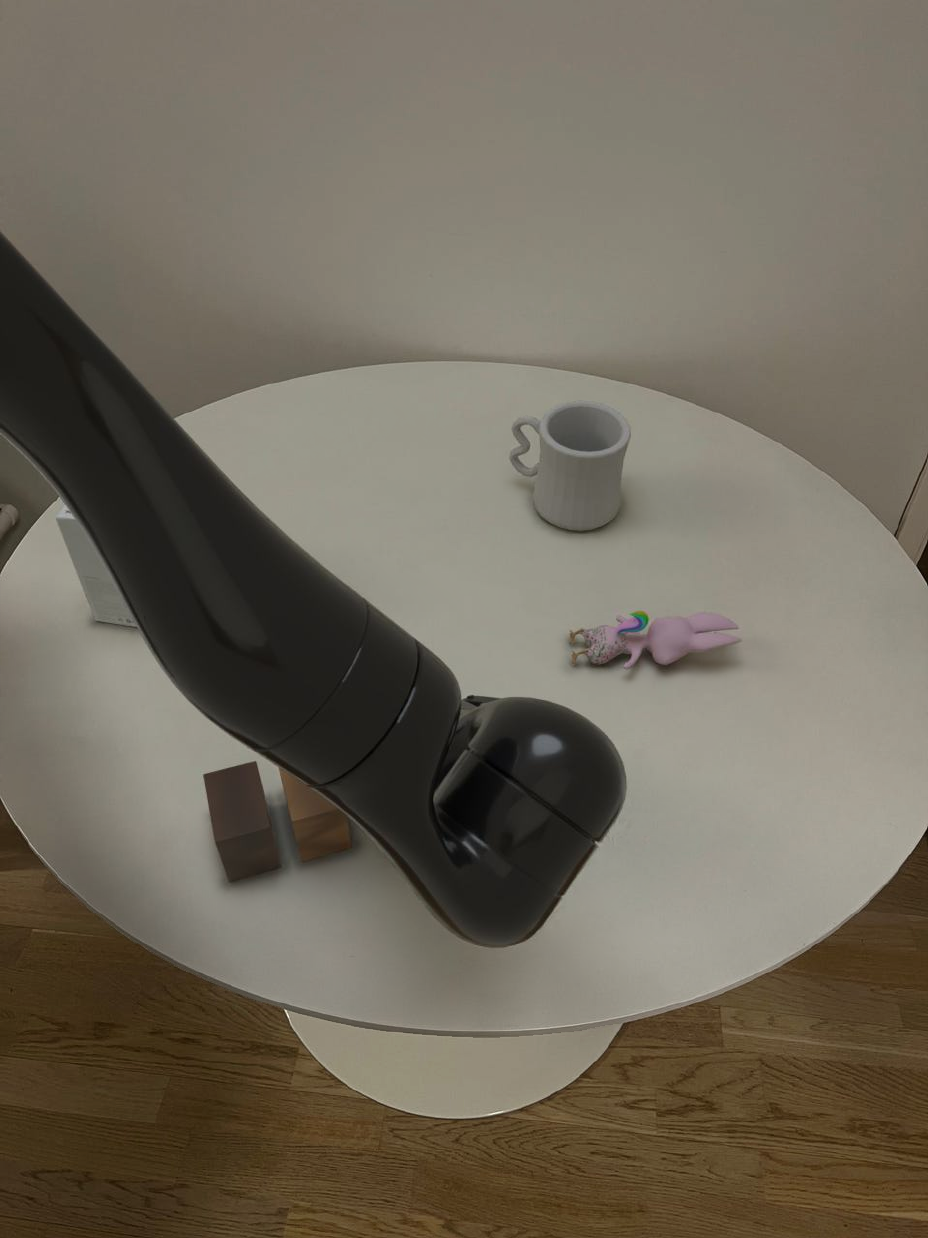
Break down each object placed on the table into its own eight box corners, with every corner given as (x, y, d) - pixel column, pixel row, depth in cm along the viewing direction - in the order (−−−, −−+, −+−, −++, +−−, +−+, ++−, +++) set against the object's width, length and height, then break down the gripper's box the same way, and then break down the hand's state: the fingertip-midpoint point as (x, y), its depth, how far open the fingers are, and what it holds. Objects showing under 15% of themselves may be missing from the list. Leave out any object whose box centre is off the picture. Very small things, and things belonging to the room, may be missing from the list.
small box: (158, 632, 92) (123, 527, 83) (93, 622, 93) (51, 517, 83) (190, 570, 98) (161, 465, 88) (129, 561, 98) (93, 456, 89)
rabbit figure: (575, 690, 90) (745, 672, 88) (570, 647, 85) (749, 628, 84) (569, 637, 94) (732, 619, 92) (564, 594, 90) (735, 574, 88)
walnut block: (228, 882, 76) (214, 842, 71) (216, 816, 79) (202, 773, 75) (281, 867, 76) (270, 827, 72) (266, 802, 80) (256, 760, 76)
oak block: (300, 862, 77) (291, 821, 72) (285, 798, 81) (275, 755, 76) (351, 848, 78) (345, 807, 73) (334, 785, 81) (327, 742, 77)
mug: (632, 492, 106) (646, 415, 98) (599, 545, 100) (611, 467, 93) (526, 457, 110) (531, 380, 102) (489, 506, 104) (491, 428, 97)
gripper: (539, 668, 60) (473, 652, 77) (303, 727, 57) (287, 697, 74) (564, 788, 61) (493, 747, 77) (332, 853, 58) (310, 795, 74)
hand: (393, 723), depth 76 cm, fingers closed on ink box, 5 cm apart
